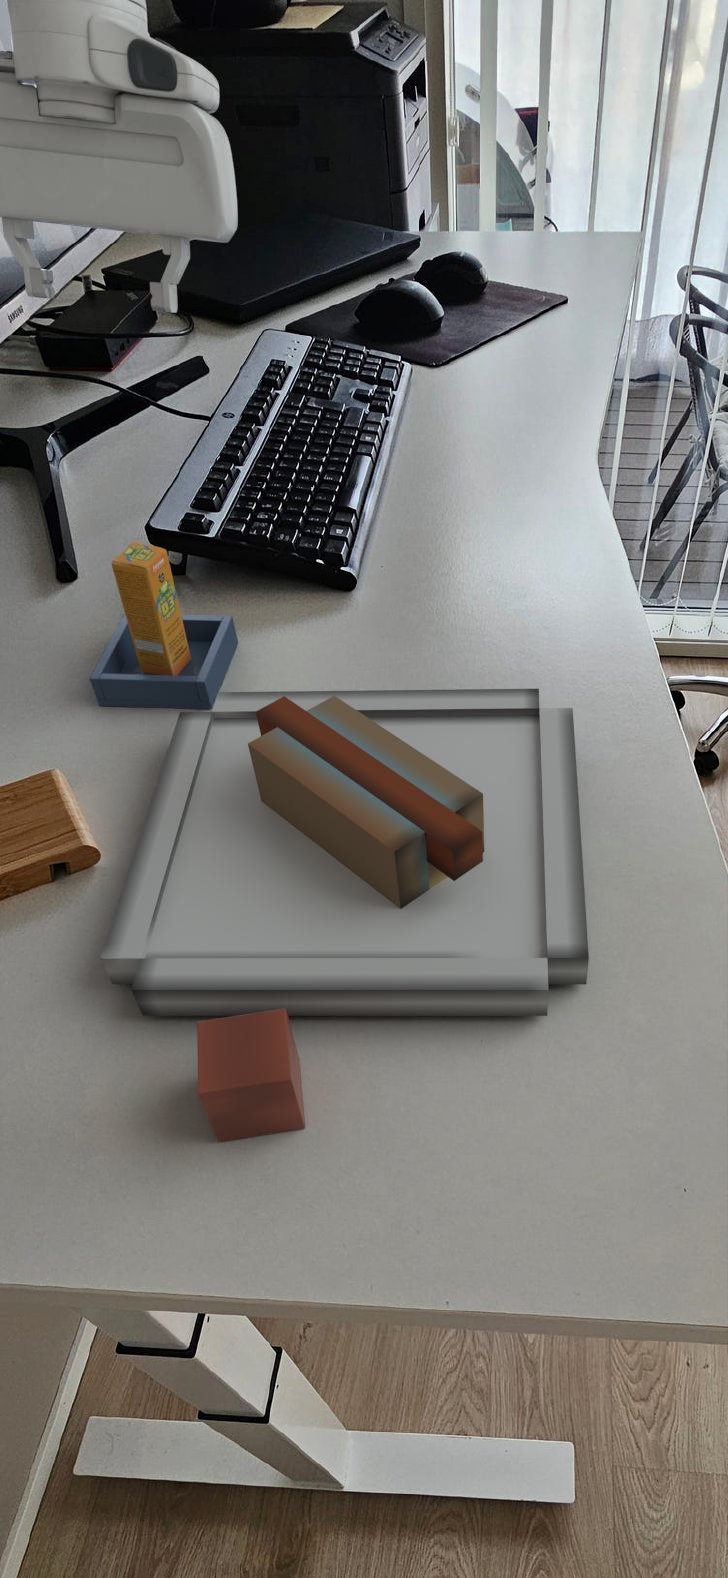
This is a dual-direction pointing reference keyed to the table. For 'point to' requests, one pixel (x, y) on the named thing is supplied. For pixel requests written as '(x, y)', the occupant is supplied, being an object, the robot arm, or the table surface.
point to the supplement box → (152, 609)
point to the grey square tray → (358, 858)
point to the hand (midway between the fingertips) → (102, 304)
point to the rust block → (250, 1075)
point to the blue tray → (192, 688)
